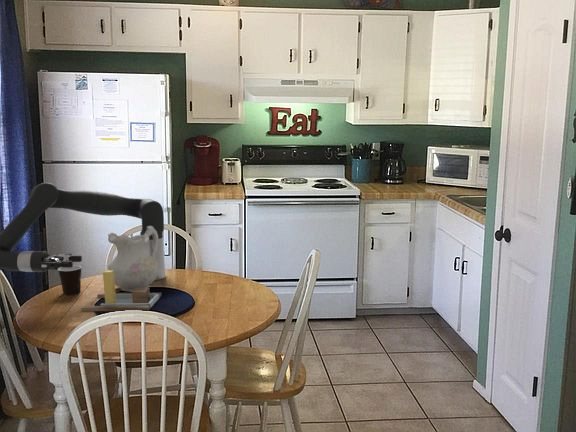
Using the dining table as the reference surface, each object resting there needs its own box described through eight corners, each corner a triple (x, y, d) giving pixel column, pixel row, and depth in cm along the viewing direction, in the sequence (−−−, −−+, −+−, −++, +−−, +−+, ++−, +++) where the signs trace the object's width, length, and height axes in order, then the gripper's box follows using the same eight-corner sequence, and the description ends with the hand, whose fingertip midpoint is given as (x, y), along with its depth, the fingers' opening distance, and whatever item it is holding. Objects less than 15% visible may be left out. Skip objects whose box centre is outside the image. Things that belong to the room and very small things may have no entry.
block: (136, 300, 246) (135, 287, 246) (150, 300, 246) (149, 287, 245) (132, 305, 241) (131, 291, 241) (146, 305, 241) (145, 291, 240)
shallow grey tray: (112, 300, 251) (110, 266, 249) (160, 300, 250) (157, 266, 248) (100, 311, 239) (97, 276, 236) (150, 311, 237) (147, 275, 235)
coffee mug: (76, 296, 259) (74, 271, 257) (56, 295, 260) (53, 270, 259) (91, 288, 270) (89, 263, 268) (71, 287, 272) (69, 263, 270)
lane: (99, 299, 254) (99, 292, 254) (161, 298, 252) (161, 292, 252) (81, 314, 237) (81, 307, 236) (148, 313, 235) (148, 307, 234)
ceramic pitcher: (139, 283, 279) (131, 224, 276) (175, 284, 269) (167, 223, 266) (101, 297, 261) (91, 234, 257) (138, 299, 251) (129, 234, 247)
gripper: (23, 255, 236) (68, 255, 235) (41, 247, 250) (83, 247, 249) (25, 276, 238) (70, 276, 236) (43, 266, 252) (85, 266, 250)
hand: (76, 261), depth 243 cm, fingers open, 8 cm apart
